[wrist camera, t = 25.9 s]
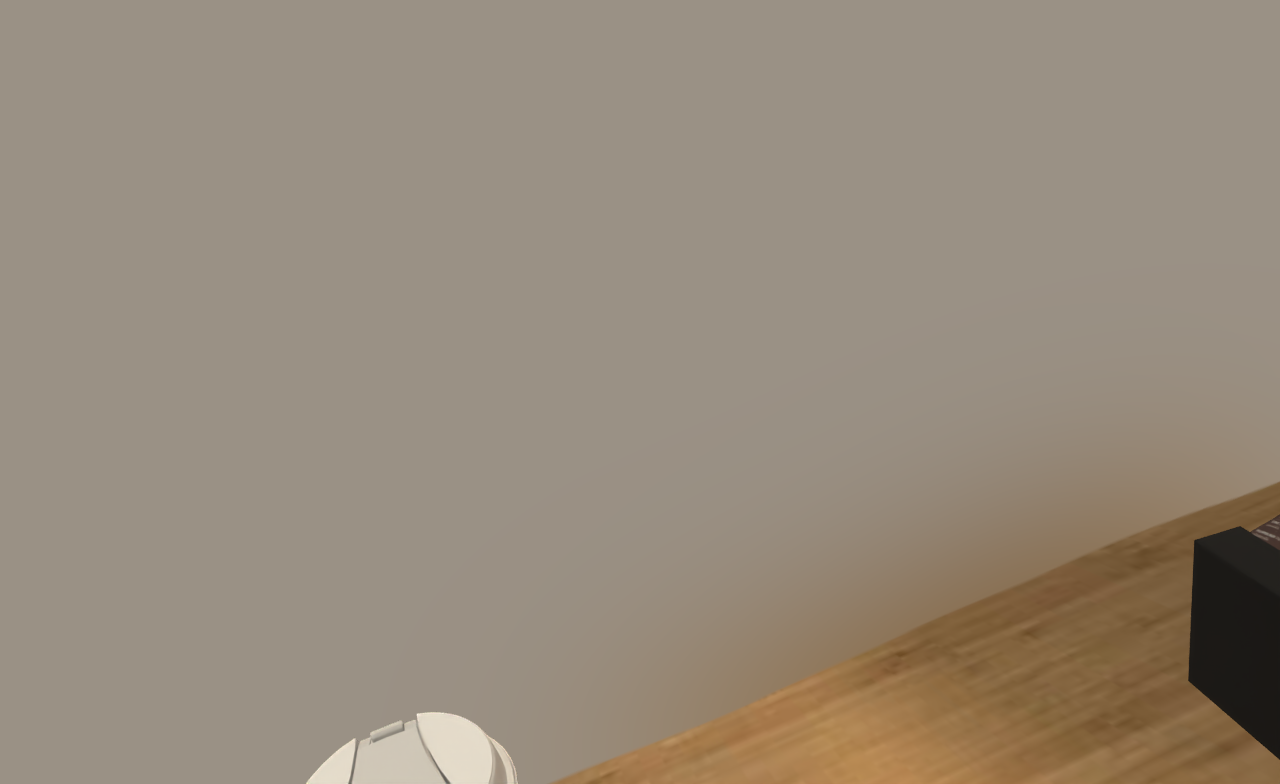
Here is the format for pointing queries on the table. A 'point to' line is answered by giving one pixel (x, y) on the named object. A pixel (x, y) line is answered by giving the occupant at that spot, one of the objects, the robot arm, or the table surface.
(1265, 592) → the robot arm
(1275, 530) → the box
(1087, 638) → the table surface
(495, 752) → the coffee cup
